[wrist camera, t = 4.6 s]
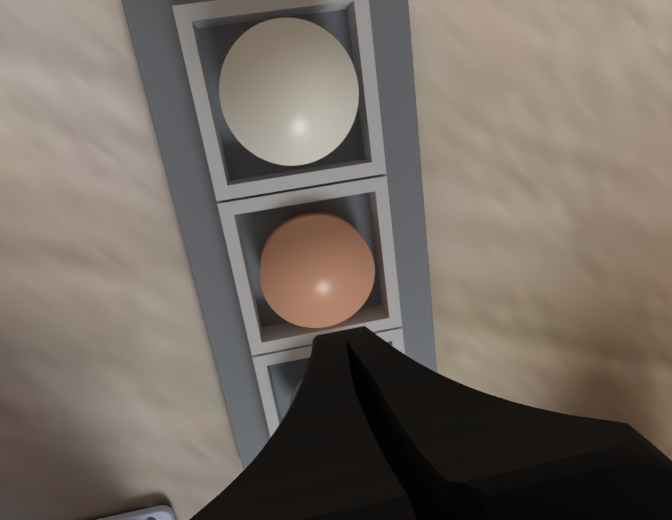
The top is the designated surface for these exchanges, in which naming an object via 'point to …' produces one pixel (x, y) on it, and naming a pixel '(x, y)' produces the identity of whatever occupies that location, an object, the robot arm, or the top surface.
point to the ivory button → (288, 91)
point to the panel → (286, 189)
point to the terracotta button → (316, 269)
